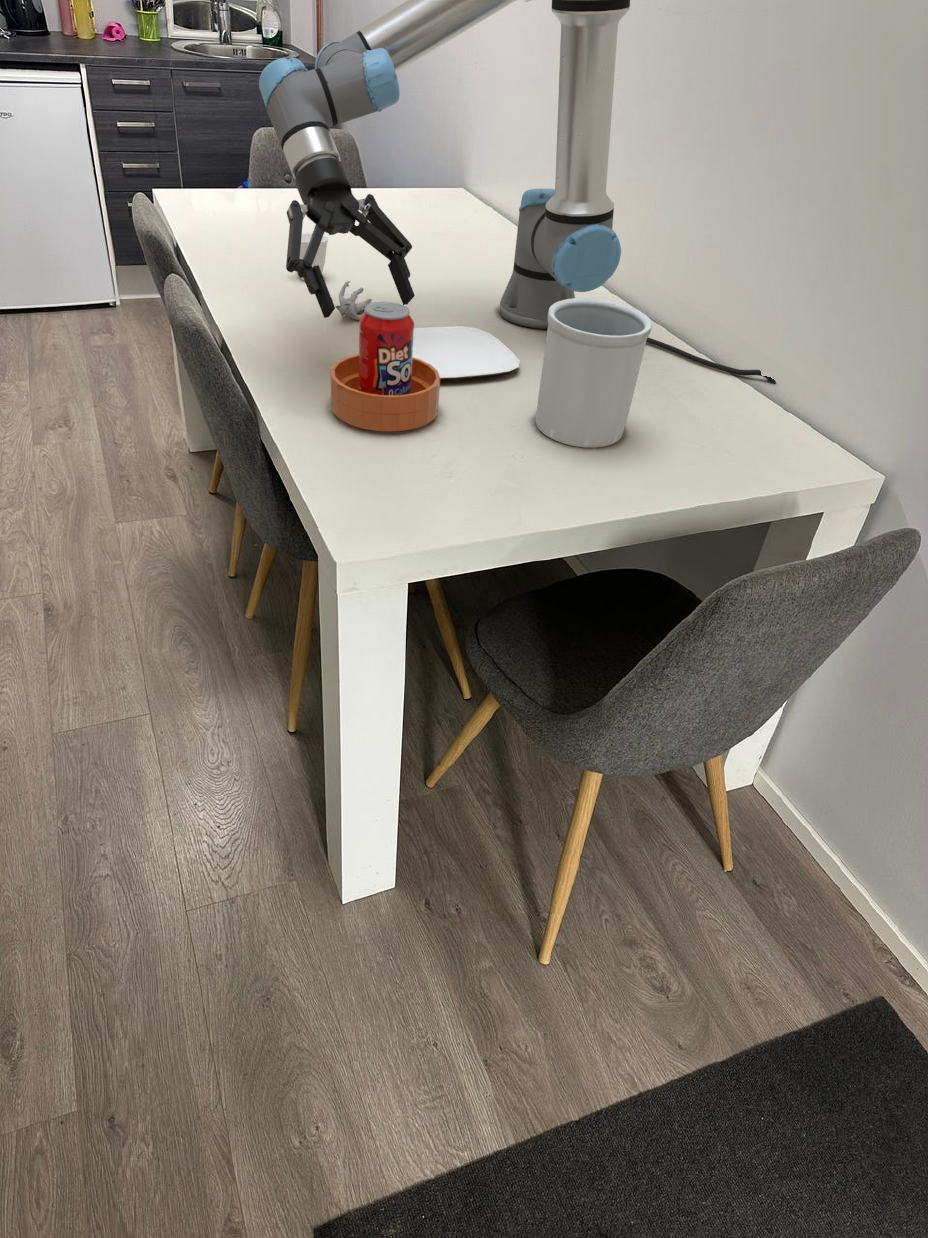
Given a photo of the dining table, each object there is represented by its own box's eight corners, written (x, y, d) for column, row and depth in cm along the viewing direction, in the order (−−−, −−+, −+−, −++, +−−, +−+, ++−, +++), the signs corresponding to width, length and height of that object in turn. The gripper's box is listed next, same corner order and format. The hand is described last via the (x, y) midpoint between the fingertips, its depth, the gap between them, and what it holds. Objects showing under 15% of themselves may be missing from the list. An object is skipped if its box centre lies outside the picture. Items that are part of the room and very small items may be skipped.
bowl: (445, 397, 139) (448, 360, 135) (426, 442, 126) (428, 403, 123) (346, 382, 140) (346, 346, 136) (318, 425, 128) (317, 387, 124)
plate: (370, 339, 155) (370, 330, 154) (480, 331, 163) (481, 322, 162) (413, 389, 140) (413, 379, 139) (532, 378, 148) (533, 368, 147)
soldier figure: (382, 313, 169) (372, 313, 158) (363, 329, 171) (351, 330, 159) (356, 279, 167) (344, 277, 156) (337, 295, 169) (324, 294, 157)
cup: (298, 284, 175) (296, 242, 170) (288, 268, 182) (286, 228, 177) (332, 283, 177) (331, 242, 172) (321, 268, 185) (320, 227, 180)
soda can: (364, 393, 136) (366, 296, 127) (414, 399, 136) (419, 303, 127) (353, 414, 130) (353, 314, 121) (404, 421, 130) (409, 321, 120)
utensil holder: (643, 447, 131) (670, 333, 120) (552, 453, 127) (571, 336, 116) (604, 405, 142) (625, 296, 131) (518, 409, 138) (533, 298, 127)
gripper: (380, 180, 137) (429, 307, 137) (231, 192, 124) (286, 331, 124) (399, 150, 130) (450, 283, 131) (245, 159, 118) (302, 305, 118)
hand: (370, 306), depth 128 cm, fingers open, 13 cm apart
